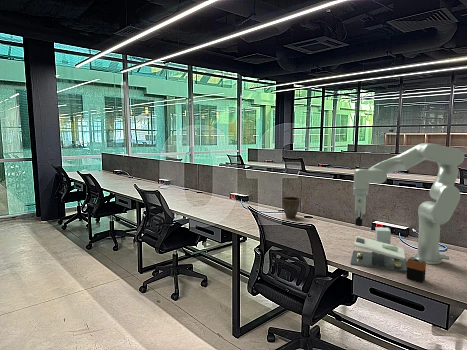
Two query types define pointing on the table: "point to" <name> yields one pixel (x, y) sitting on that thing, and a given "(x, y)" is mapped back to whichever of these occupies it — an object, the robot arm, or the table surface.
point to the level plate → (379, 247)
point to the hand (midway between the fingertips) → (358, 225)
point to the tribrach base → (378, 261)
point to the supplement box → (382, 235)
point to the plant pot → (290, 206)
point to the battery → (416, 269)
